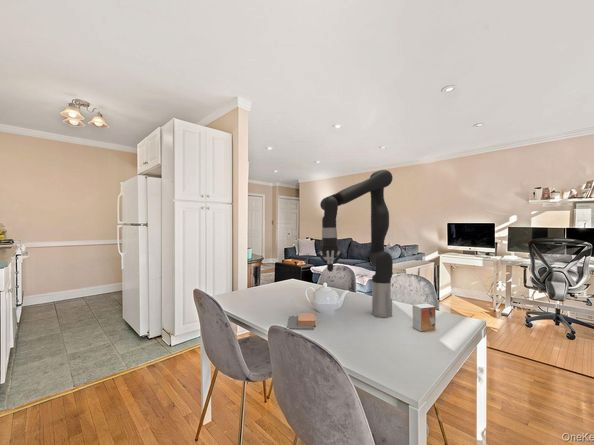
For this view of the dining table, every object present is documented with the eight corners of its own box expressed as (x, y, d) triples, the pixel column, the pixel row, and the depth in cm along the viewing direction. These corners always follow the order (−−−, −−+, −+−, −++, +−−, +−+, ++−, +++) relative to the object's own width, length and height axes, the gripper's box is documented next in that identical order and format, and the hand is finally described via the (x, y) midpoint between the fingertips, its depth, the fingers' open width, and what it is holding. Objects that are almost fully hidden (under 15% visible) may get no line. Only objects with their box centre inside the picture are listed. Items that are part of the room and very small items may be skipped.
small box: (420, 332, 117) (420, 308, 117) (412, 327, 122) (412, 304, 122) (436, 330, 119) (435, 306, 119) (426, 325, 124) (426, 302, 124)
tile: (314, 313, 133) (298, 313, 133) (315, 320, 123) (298, 320, 123) (314, 318, 133) (298, 318, 133) (315, 326, 123) (298, 325, 123)
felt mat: (312, 316, 136) (312, 316, 136) (313, 329, 120) (313, 328, 120) (289, 316, 137) (289, 316, 137) (287, 329, 121) (287, 328, 121)
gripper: (341, 236, 137) (342, 269, 137) (315, 236, 137) (316, 270, 137) (343, 236, 129) (344, 272, 129) (316, 237, 130) (317, 273, 130)
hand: (330, 271), depth 133 cm, fingers closed
